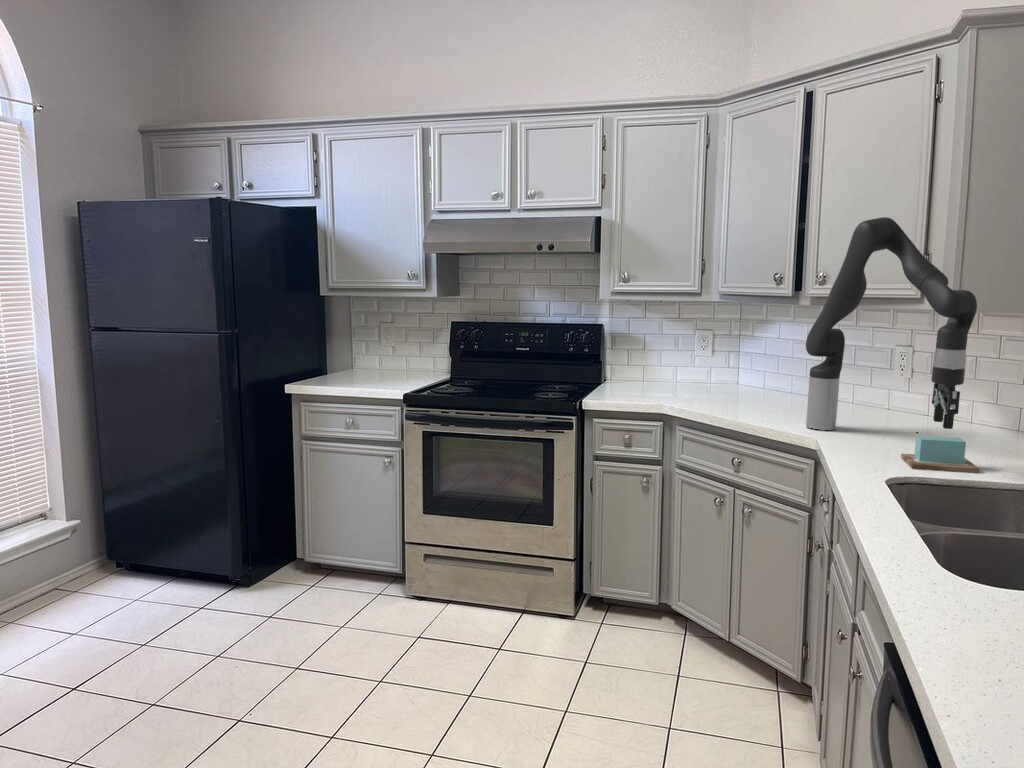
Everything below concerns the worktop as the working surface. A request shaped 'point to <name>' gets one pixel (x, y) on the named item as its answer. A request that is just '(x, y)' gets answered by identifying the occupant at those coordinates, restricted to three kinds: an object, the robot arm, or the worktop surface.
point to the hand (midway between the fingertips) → (942, 425)
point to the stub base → (939, 465)
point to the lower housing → (940, 449)
